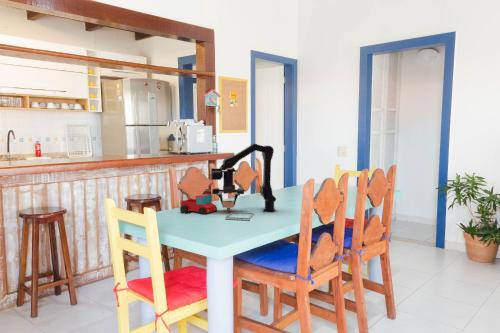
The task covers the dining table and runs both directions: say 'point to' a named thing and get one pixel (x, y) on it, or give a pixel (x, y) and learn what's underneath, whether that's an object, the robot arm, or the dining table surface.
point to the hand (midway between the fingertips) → (228, 205)
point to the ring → (228, 204)
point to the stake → (228, 210)
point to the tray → (237, 217)
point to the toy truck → (198, 205)
